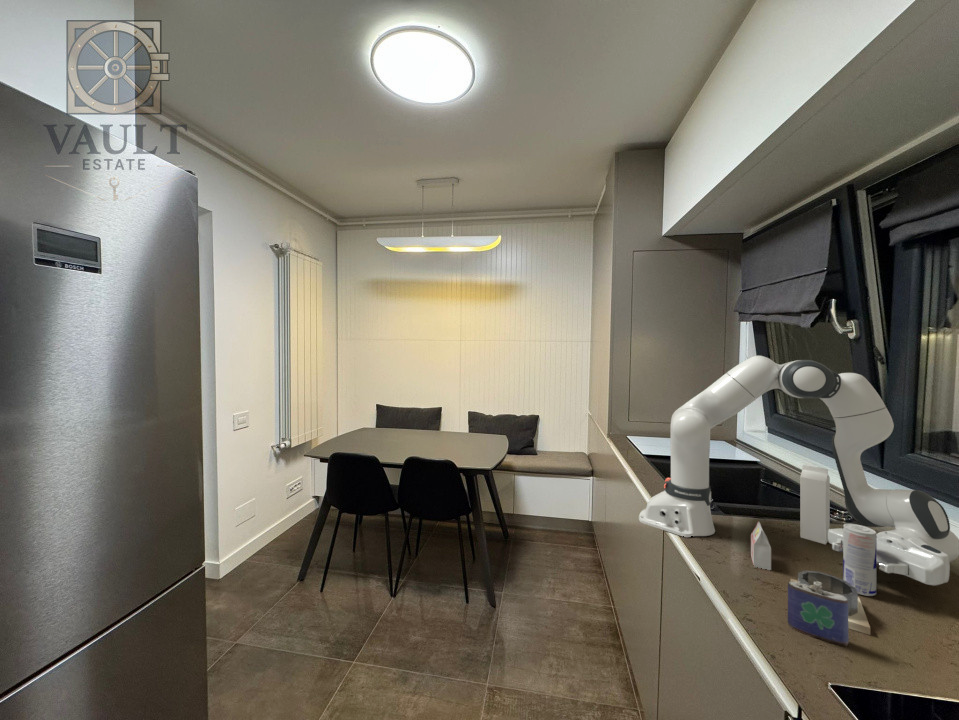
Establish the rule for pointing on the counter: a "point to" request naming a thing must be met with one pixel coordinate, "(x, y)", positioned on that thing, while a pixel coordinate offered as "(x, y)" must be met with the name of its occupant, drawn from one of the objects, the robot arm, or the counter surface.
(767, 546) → the small drink carton
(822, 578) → the collar stand
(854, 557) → the beverage can
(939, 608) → the counter surface
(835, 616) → the flask
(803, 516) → the milk
